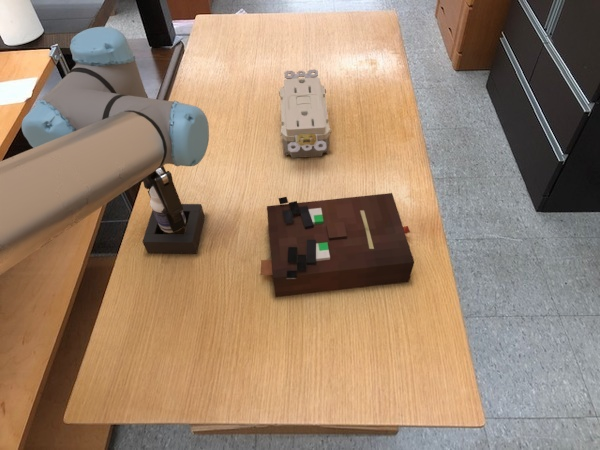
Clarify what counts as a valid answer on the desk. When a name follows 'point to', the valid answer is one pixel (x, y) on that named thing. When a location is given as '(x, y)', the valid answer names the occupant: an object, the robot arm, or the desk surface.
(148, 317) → the desk surface
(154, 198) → the pill bottle
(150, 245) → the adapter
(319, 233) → the decorative book
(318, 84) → the electrical outlet
